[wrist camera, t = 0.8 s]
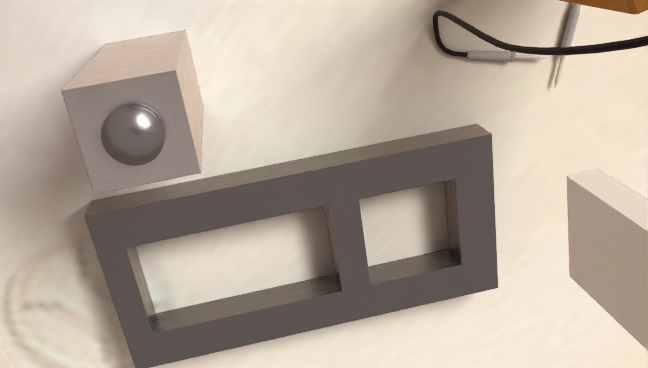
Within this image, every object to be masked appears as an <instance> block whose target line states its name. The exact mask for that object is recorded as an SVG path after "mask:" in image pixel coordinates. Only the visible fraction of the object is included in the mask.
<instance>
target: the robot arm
mask: <svg viewBox="0 0 648 368" xmlns="http://www.w3.org/2000/svg"><path fill="white" fill-rule="evenodd" d="M567 201H568V236H569V271H570V277H571V278H572V279H573V280H574V281H575V282H576V283H577V284H578V285H579V286H580V287H582V288H583V289H584V290H585V291H586V292H587V293H588V294H589V295H590V296H591V297H592V298H593V299H594V300H595V301H596V302H597V303H598V304H599V305H600V306H602V307H603V308H604V309H605V310H606V311H607V312H608V313H609V314H610V315H611V316H612V317H613V318H614V319H615V320H616V321H617V322H618V323H619V324H620V325H621V326H623V327H624V328H625V329H626V330H627V331H628V332H629V333H630V334H631V335H632V336H633V337H634V338H635V339H636V340H637V341H638V342H639V343H640V344H641V345H642V346H644V347H645V348H646V349H647V350H648V199H647V198H646V197H644V196H642V195H641V194H639V193H637V192H636V191H634V190H632V189H631V188H629V187H627V186H626V185H624V184H622V183H621V182H619V181H617V180H616V179H614V178H613V177H611V176H609V175H608V174H606V173H604V172H603V171H601V170H599V169H593V170H589V171H585V172H581V173H577V174H573V175H569V176H567ZM0 368H15V366H14V364H13V362H12V360H11V358H10V356H9V354H8V351H7V349H6V347H5V345H4V343H3V341H2V339H1V337H0Z"/></svg>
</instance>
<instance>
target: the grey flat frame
mask: <svg viewBox="0 0 648 368" xmlns="http://www.w3.org/2000/svg"><path fill="white" fill-rule="evenodd" d="M442 181H445V194H446V207H447V220H448V233H449V246H450V249H447V250H443V251H438V252H433V253H429V254H424V255H420V256H415V257H411V258H406V259H402V260H397V261H393V262H388V263H384V264H379V265H374V266H370V267H368V264H367V256H366V249H365V242H364V235H363V227H362V220H361V213H360V206H359V199H361V198H366V197H371V196H375V195H380V194H385V193H390V192H395V191H399V190H404V189H409V188H414V187H418V186H423V185H428V184H433V183H438V182H442ZM323 206H325V211H326V217H327V223H328V229H329V235H330V241H331V248H332V254H333V260H334V266H335V272H336V274H334V275H329V276H325V277H320V278H315V279H311V280H306V281H302V282H297V283H293V284H288V285H284V286H279V287H275V288H270V289H266V290H261V291H256V292H252V293H247V294H243V295H238V296H234V297H229V298H225V299H220V300H216V301H211V302H207V303H202V304H198V305H193V306H188V307H184V308H179V309H175V310H170V311H166V312H161V313H157V314H156V313H155V310H154V307H153V303H152V300H151V297H150V294H149V290H148V287H147V284H146V281H145V277H144V274H143V271H142V268H141V264H140V261H139V258H138V255H137V251H136V248H135V246H136V245H141V244H145V243H150V242H155V241H160V240H165V239H169V238H174V237H179V236H184V235H189V234H193V233H198V232H203V231H208V230H212V229H217V228H222V227H227V226H232V225H236V224H241V223H246V222H251V221H256V220H260V219H265V218H270V217H275V216H280V215H284V214H289V213H294V212H299V211H303V210H308V209H313V208H318V207H323ZM85 219H86V222H87V225H88V228H89V231H90V234H91V237H92V240H93V243H94V246H95V249H96V252H97V255H98V258H99V261H100V263H101V266H102V269H103V272H104V275H105V278H106V281H107V284H108V287H109V290H110V293H111V296H112V299H113V302H114V305H115V308H116V311H117V314H118V317H119V320H120V323H121V326H122V329H123V332H124V335H125V338H126V341H127V344H128V347H129V350H130V353H131V356H132V359H133V362H134V365H135V368H149V367H154V366H158V365H162V364H167V363H171V362H176V361H180V360H184V359H189V358H193V357H197V356H202V355H206V354H211V353H215V352H219V351H224V350H228V349H232V348H237V347H241V346H246V345H250V344H254V343H259V342H263V341H267V340H272V339H276V338H280V337H285V336H289V335H294V334H298V333H302V332H307V331H311V330H315V329H320V328H324V327H329V326H333V325H337V324H342V323H346V322H350V321H355V320H359V319H364V318H368V317H372V316H377V315H381V314H385V313H390V312H394V311H398V310H403V309H407V308H412V307H416V306H420V305H425V304H429V303H433V302H438V301H442V300H447V299H451V298H455V297H460V296H464V295H468V294H473V293H477V292H482V291H486V290H490V289H495V288H498V275H497V251H496V227H495V203H494V179H493V155H492V134H491V133H489V132H488V131H487V130H485V129H484V128H482V127H481V126H479V125H478V124H474V125H469V126H464V127H459V128H454V129H449V130H444V131H439V132H434V133H429V134H424V135H419V136H414V137H409V138H404V139H399V140H394V141H389V142H384V143H379V144H374V145H369V146H364V147H359V148H354V149H349V150H344V151H339V152H334V153H329V154H324V155H319V156H314V157H309V158H304V159H299V160H294V161H289V162H284V163H279V164H274V165H269V166H264V167H259V168H254V169H249V170H244V171H239V172H234V173H229V174H224V175H219V176H214V177H209V178H204V179H199V180H194V181H189V182H184V183H179V184H174V185H169V186H164V187H159V188H154V189H149V190H144V191H139V192H135V193H130V194H125V195H120V196H115V197H110V198H105V199H100V200H95V201H91V203H90V206H89V208H88V210H87V212H86V215H85Z"/></svg>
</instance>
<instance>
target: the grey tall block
mask: <svg viewBox="0 0 648 368" xmlns="http://www.w3.org/2000/svg"><path fill="white" fill-rule="evenodd" d="M61 92H62V95H63V98H64V101H65V104H66V107H67V110H68V113H69V116H70V119H71V123H72V126H73V129H74V132H75V135H76V138H77V141H78V144H79V147H80V150H81V153H82V156H83V160H84V163H85V166H86V169H87V172H88V175H89V178H90V181H91V184H92V187H93V190H94V194H98V193H103V192H108V191H113V190H118V189H123V188H128V187H133V186H138V185H143V184H148V183H153V182H158V181H163V180H168V179H173V178H178V177H183V176H188V175H193V174H198V173H201V161H202V133H203V102H202V98H201V93H200V89H199V85H198V80H197V76H196V72H195V68H194V63H193V59H192V55H191V50H190V46H189V42H188V37H187V33H186V30H183V31H177V32H171V33H166V34H160V35H154V36H149V37H143V38H137V39H131V40H126V41H120V42H114V43H109V44H105V45H104V46H103V47H102V48H101V49H100V50H99V51H98V52H97V53H96V55H95V56H94V57H93V58H92V59H91V60H90V61H89V62H88V63H87V64H86V65H85V66H84V67H83V68H82V69H81V70H80V71H79V72H78V74H77V75H76V76H75V77H74V78H73V79H72V80H71V81H70V82H69V83H68V84H67V85H66V86H65V87H64V88H63V89H62V90H61Z"/></svg>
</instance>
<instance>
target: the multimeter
mask: <svg viewBox="0 0 648 368" xmlns="http://www.w3.org/2000/svg"><path fill="white" fill-rule="evenodd" d="M560 1H565V2H571V3H574V4H573V6H572V9H571V11H570V14H569V18H568V22H567V26H566V30H565V33H564V37H563V41H562V45H561V47H551V48H539V47H523V46H517V45H511V44H507V43H504V42H501V41H499V40H497V39H495V38H493V37H491V36H489V35H487V34H485V33H483V32H481V31H480V30H478V29H476V28H475V27H473V26H471V25H469V24H468V23H466V22H464V21H463V20H461V19H459V18H458V17H456V16H454V15H452V14H450V13H448V12H444V11H440V10H439V11H436V12H435V13H434V15H433V28H434V34H435V39H436V41H437V44H438V46H439V47H440V48H441V49H442V50H443V51H444V52H446V53H447V54H450V55H453V56H461V57H467V58H470V59H476V60H503V61H510V62H513V61H514V60H515V58H517V59H543V58H545V57H542V56H531V55H515V52H519V53H526V54H538V55H561V59H560V63H559V67H558V71H557V75H556V78H555V87H556V85H557V83H558V81H559V77H560V73H561V70H562V66H563V62H564V58H565V55H575V54H590V53H601V52H609V51H616V50H624V49H631V48H637V47H642V46H647V45H648V36H645V37H640V38H635V39H630V40H624V41H617V42H610V43H603V44H596V45H586V46H574V47H570V46H571V42H572V39H573V35H574V31H575V27H576V24H577V20H578V16H579V11H580V4H581V5H587V6H592V7H597V8H603V9H608V10H613V11H619V12H624V13H629V14H639V13H641V12H643V11H646V10H648V0H560ZM440 15H441V16H444V17H446V18H448V19H450V20H452V21H453V22H455V23H457V24H458V25H460V26H461V27H463V28H465V29H466V30H468V31H470V32H471V33H473V34H474V35H476V36H478V37H479V38H481V39H483V40H485V41H487V42H489V43H490V44H492V45H494V46H496V47H499V48H502V49H505V50H509V51H511V52H497V51H468V52H455V51H452V50H449V49H447V48H446V47H445V46H444V45H443V43H442V42H441V39H440V35H439V30H438V16H440Z"/></svg>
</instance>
